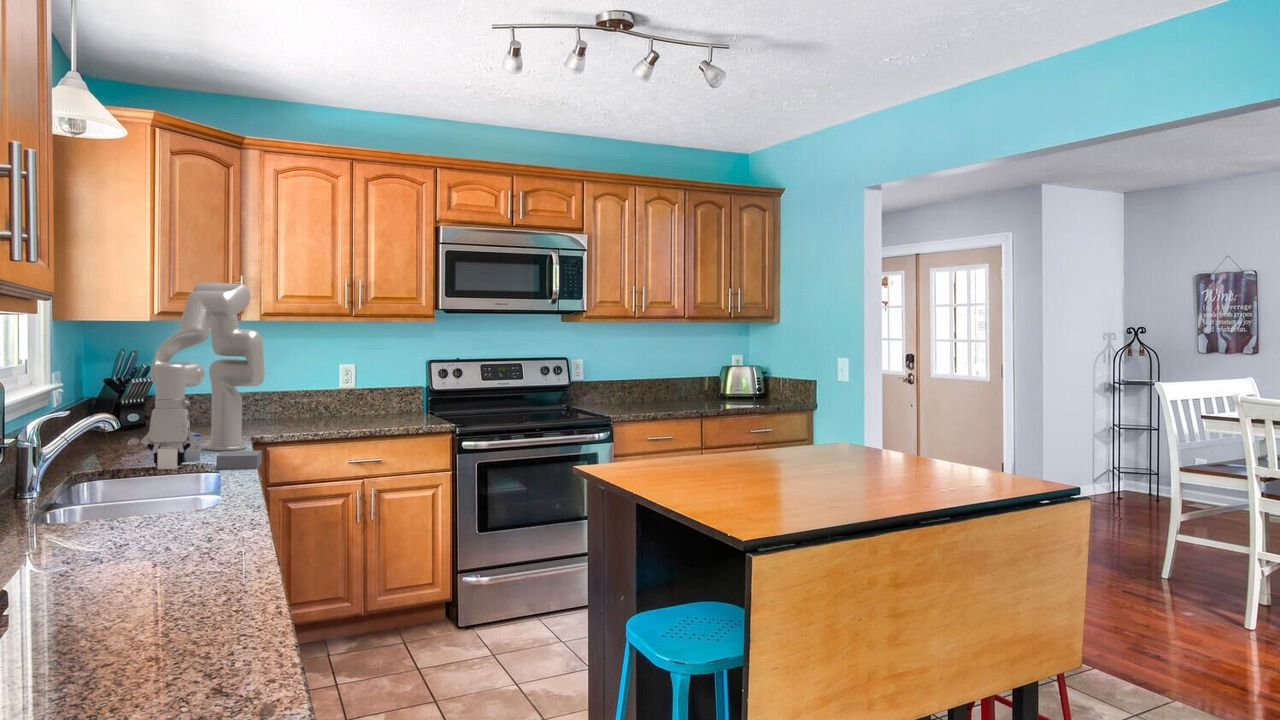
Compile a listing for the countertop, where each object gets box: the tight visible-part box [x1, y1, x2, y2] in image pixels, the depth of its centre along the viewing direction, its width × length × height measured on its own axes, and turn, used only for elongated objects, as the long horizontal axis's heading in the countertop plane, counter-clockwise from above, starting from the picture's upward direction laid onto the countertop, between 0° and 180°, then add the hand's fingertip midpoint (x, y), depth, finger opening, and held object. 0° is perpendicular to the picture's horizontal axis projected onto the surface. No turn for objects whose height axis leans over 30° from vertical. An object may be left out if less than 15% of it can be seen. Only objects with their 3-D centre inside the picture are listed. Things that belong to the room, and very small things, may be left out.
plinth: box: [215, 450, 263, 471], centre depth 241 cm, size 11×11×4 cm
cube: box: [156, 446, 181, 470], centre depth 235 cm, size 5×5×6 cm
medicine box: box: [175, 431, 202, 463], centre depth 251 cm, size 8×4×9 cm, turn 52°
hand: (169, 464), depth 235 cm, fingers closed on cube, 5 cm apart
